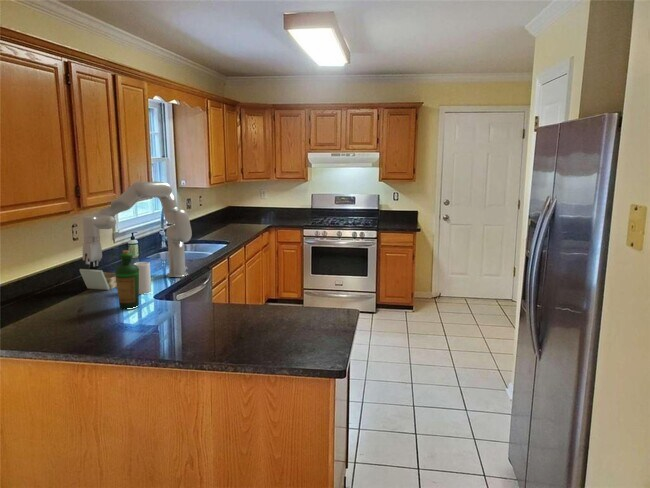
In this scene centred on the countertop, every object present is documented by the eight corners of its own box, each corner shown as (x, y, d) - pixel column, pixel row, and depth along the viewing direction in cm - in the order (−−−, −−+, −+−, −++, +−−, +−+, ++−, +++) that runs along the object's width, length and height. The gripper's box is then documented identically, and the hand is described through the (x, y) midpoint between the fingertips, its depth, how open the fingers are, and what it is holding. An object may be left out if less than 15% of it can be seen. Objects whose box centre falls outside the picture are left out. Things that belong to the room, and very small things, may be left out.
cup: (154, 290, 251) (152, 262, 248) (146, 295, 243) (145, 265, 240) (139, 290, 252) (138, 261, 249) (132, 294, 244) (130, 264, 241)
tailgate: (89, 288, 251) (80, 268, 244) (110, 289, 249) (102, 270, 241) (88, 289, 250) (79, 270, 243) (109, 291, 248) (100, 271, 240)
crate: (103, 283, 263) (102, 272, 262) (124, 284, 261) (123, 273, 260) (89, 289, 252) (88, 277, 250) (111, 290, 249) (110, 279, 248)
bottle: (112, 308, 219) (108, 251, 214) (130, 303, 229) (127, 248, 224) (127, 312, 215) (124, 254, 210) (146, 306, 224) (143, 250, 219)
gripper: (94, 236, 250) (97, 269, 253) (75, 241, 235) (78, 276, 238) (107, 237, 248) (109, 270, 252) (88, 242, 234) (91, 277, 237)
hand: (94, 273), depth 245 cm, fingers closed
